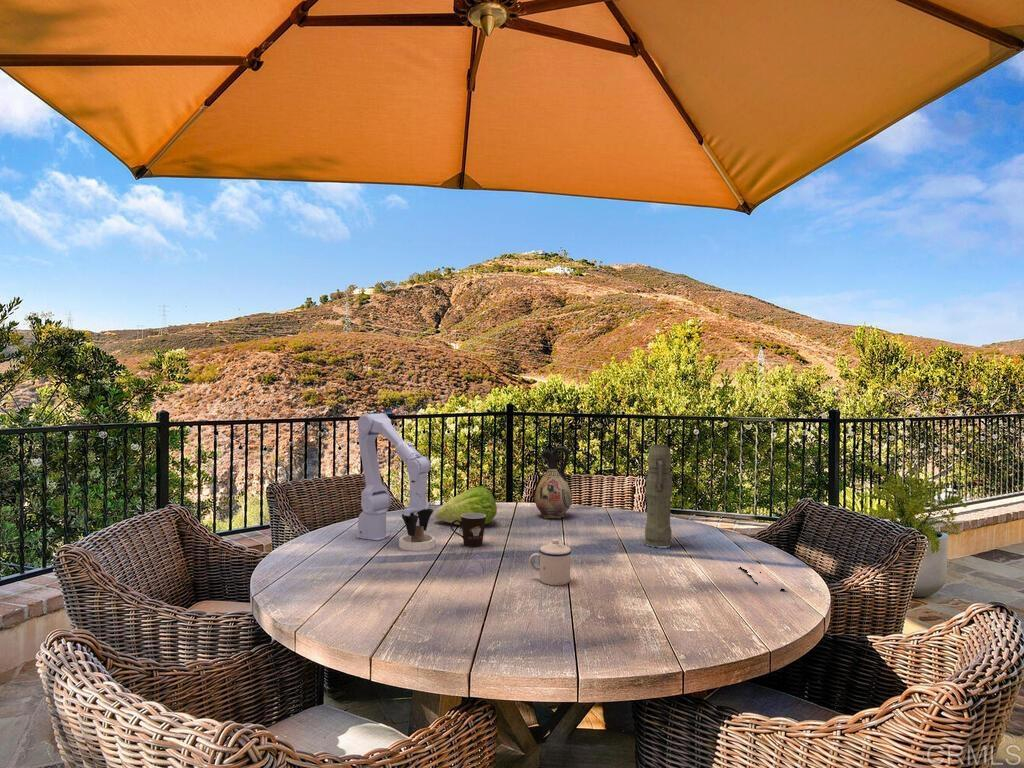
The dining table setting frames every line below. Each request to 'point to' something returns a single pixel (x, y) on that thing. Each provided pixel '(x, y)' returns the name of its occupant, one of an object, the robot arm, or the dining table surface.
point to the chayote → (468, 505)
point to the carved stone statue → (658, 496)
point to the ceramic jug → (553, 486)
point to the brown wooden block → (419, 534)
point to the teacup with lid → (553, 563)
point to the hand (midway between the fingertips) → (417, 532)
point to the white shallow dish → (416, 543)
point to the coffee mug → (472, 529)
